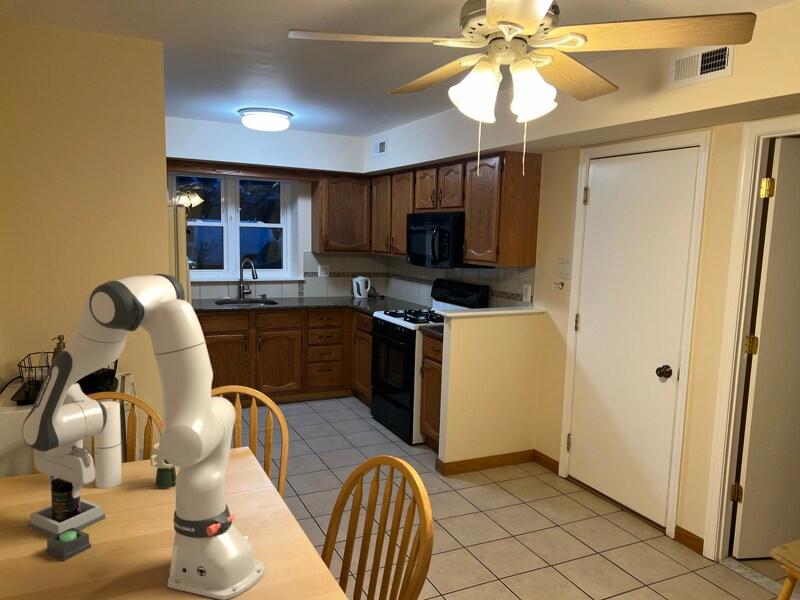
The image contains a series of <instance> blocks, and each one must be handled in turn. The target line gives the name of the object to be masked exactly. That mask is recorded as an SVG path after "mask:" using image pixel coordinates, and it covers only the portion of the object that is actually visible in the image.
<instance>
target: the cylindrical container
mask: <svg viewBox="0 0 800 600" xmlns="http://www.w3.org/2000/svg"><path fill="white" fill-rule="evenodd" d="M100 403H102V404H103V405H104V406H105V408H106V412H107V421H106V425H105V427H104V429H103V430H102V432H101V433H99V434H97V435H94V436H93V442H94V471H95V487H96V488H98V489H112V488H115V487H118V486H119V485H121V484H122V481H123V480H122V479H123V478H122V444H121V441H122V440H121V438H122V437H121V405H120V402H118V401H103V402H101V401H100Z"/></svg>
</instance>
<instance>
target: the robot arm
mask: <svg viewBox="0 0 800 600" xmlns="http://www.w3.org/2000/svg"><path fill="white" fill-rule="evenodd" d="M185 296H186V294H185V289H184V287H183V284H182V283H181V282H180V280H178V278H176V277H175V276H173V275H171V274H164V273H156V274H150V275H148V274H147V275H132V276H128V277H125V278H119V279H116V280H109V281H105V282H103V283H102V284H101V283H100V285H98V286H96V287H95V288H94V289H93V290H92V291H90V293H89V294H88V296H87V298H86V299H85V302H84V303H83V306H82V308H81V311H80V314H79V316H78V317H79V318H78V320H77V323H76V329H75V331H74V334H73V336H72V338H71V339H70V341H69V342H68V344H67V345H66V346H65V347H64V349H63V350H61V351H60V352H58V354H57V355H55V357H54V358H53V360H52V362H51V363H50V365H49V369H48V371H47V373H46V376H45V377H44V380H43V383H42V385H41V388H40V389H39V392H38V395H37V397H36V400H35V401H34V404H33V406H32V408H31V410H30V411H29V412H28V414H27V415H26V417H25V419H24V421H23V423H22V427H21V435H22V439H23V441H24V443H25V444H26V445H27V446H28V447H30V448H31V449H34V450H33V458H34V467H35V468H36V471H38V472H40V473H42V474H46V475H47V476H46V477H47V479H48V482H49V484H50V485H51V481H52V480H54V479H56V478H60V479H63V480H65V481H68V482H71V483H72V486H74V487H73V490H71V491H70V496H71V497H73V498H77V497H79V496H80V497H81V489H82V487H84V486H87V485H90V484H92V483H93V482H94V481H95V480H96V477H95V463H94V458H93V457H92V455H91V454H90V453H89V452H88V449H86V448H83V447H84V439H87V438H91V437H94V435H97V434H99V433H101V432H102V430H103V429H104V427H105V425H106V421H107V412H106V408H105V406H104V405H103V404H102V403H101V401H98V400H97V399H93V398H90V397H89V396H88V395H86V393H84V392H83V390H82V388H81V385H80V384H79V383H78V381H79V380H81V379H82V378H84V377H86V376H89V375H90V374H92V373H95V372H96V371H98V370H101V369H104V368H106V367H108V366H111V364H113V363H114V362H115V361H116V360H118V359H119V358H120V356H121V355H122V352H123V350H124V349H125V346H126V343H127V340H128V339H127V338H128V335H129V334H128V333H129V332H136V331H137V329H138V328H139V327H140V328H142V329H143V330H145V331H146V332H147V333H148V335H149V338H150V340H151V346H152V351H153V354H154V359H155V362H156V366H157V371H158V375H159V378H160V383H161V388H162V389H161V390H162V409H163V410H162V413H163V417H162V419H163V421H162V424H163V425H162V430H161V435H160V437H159V441H158V443H159V448H160V452H161V454H162V456H163V458H164V459H165V460H166V461H167V462H168V463H170V464H171V465H173V466H174V467H177V468H179V469H178V472H177V473H176V485H175V510H174V513H173V521H172V522H173V529H174V532H175V533H174V534H175V536H174V540H173V545H172V546H173V547H172V555H171V562H170V565H169V568H168V574H169V577H168V579H167V587H168V588H170V589H174V590H177V591H183V592H186V593H191V594H195V595H201V596H204V597H209V598H214V599H217V600H229V599H232V598H234V597H236V596H239V595H241V594H243V593H244V592H246V591H247V590H249V589H251V587H253V586H254V585H255V584H256V583H257V582H258V581H260V579H262V577H263V576H264V575H265V573H266V565H265V564H264V563H263V562H261V560H258V559H257V558H256V555H255V549H254V546H253V545H252V543H251V542H250V541H249V537H248V535H245V534H244V535H243V534H242V533H241V531H240V530H239V529H238V528H237V527H236V526H235V525H234V524H233V520H234V519H236V517H235V516H236V514H235V513H233V514H231V513H230V510H229V507H228V504H227V470H228V464H229V459H230V453H231V446H232V445H231V444H232V436H233V431H234V426H235V423H236V418H237V415H236V409H235V407H234V405H233V404H232V402H230V400H228V399H227V398H225V397H222V396H212V386H213V385H212V384H213V379H214V371H213V368H212V364H211V360H210V355H209V352H208V348H207V344H206V339H205V336H204V332H203V330H202V327H201V324H200V321H199V319H198V315H197V314H196V312H195V310H194V308H193V306H192V305H191V304H190V303H189V302H188V301H186V300H185V298H186V297H185Z"/></svg>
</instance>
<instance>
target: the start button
mask: <svg viewBox="0 0 800 600" xmlns="http://www.w3.org/2000/svg"><path fill="white" fill-rule="evenodd" d="M59 538H60V541H61V542H63V543H67V542H69V541H71V540H73V539H75V538H77V533H76V531H66V532H64V533H62V534H60V536H59Z"/></svg>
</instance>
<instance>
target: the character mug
mask: <svg viewBox="0 0 800 600" xmlns="http://www.w3.org/2000/svg"><path fill="white" fill-rule="evenodd" d="M152 452H153V454H152V455H151V456H150V459H149V460H150V466H151V467H154V468H157V469H156V474H155V475H156V476H155V484H154V485H155V486H156V487H159V488H160V489H166V488H167V489H168V488H172V487H173V483H174V486H176V477H177V472H176V466H173V465H171V464H170V463H168V462H167V461H166V460H165V459H164V458H163V456H162V454H161V452H160V448H159V442H157V443H155V444H154V445H152Z"/></svg>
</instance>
